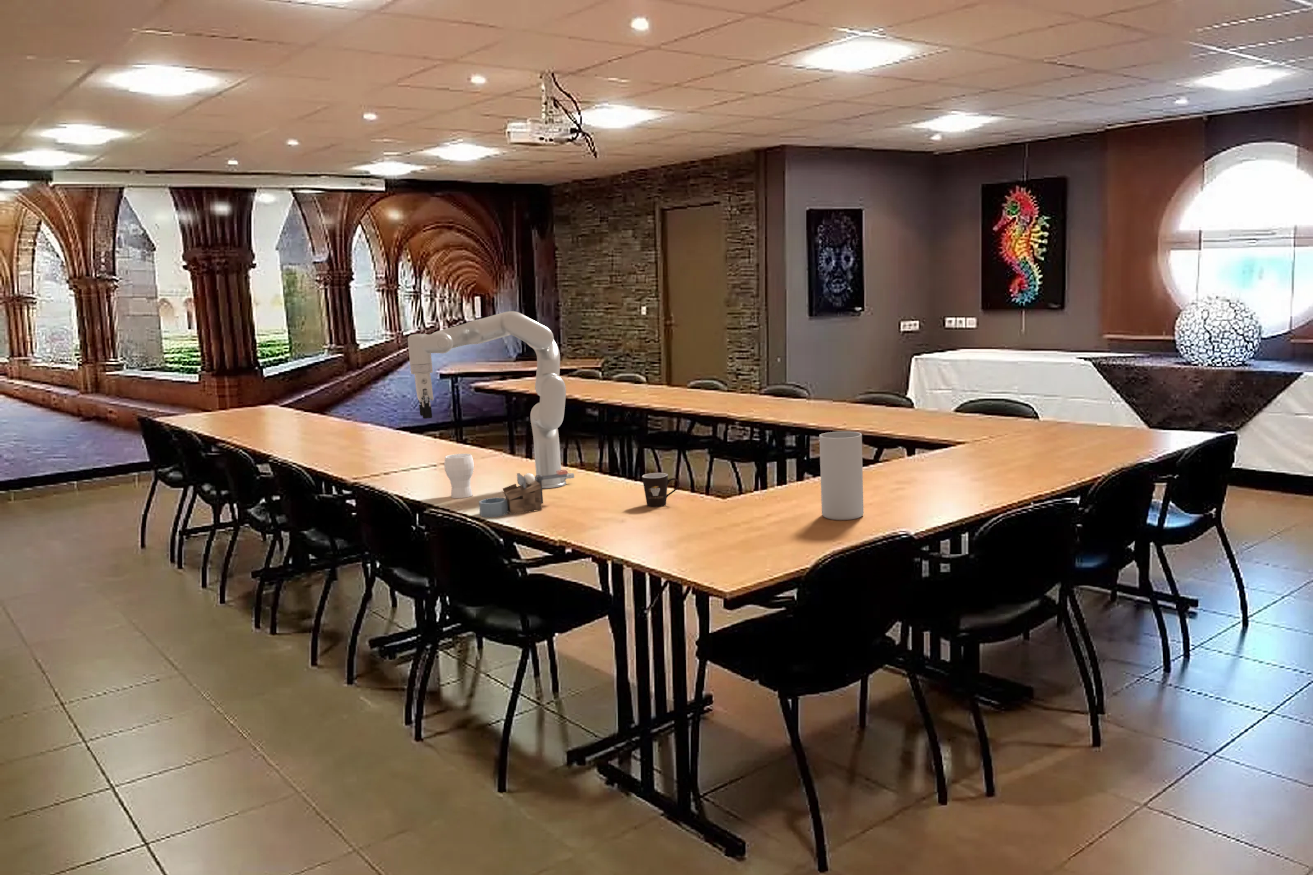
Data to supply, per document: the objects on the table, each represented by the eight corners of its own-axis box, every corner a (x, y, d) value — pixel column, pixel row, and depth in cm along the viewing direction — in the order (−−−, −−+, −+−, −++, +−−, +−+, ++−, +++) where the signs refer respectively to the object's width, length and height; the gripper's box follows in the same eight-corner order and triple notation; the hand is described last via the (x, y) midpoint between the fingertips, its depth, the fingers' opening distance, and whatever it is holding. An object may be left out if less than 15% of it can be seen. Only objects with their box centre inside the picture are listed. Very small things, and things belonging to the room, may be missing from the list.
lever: (565, 476, 343) (565, 467, 343) (573, 482, 333) (573, 472, 333) (517, 482, 338) (516, 473, 337) (523, 488, 328) (522, 478, 327)
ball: (534, 482, 335) (532, 470, 334) (537, 484, 331) (534, 472, 330) (523, 485, 334) (520, 474, 333) (525, 487, 330) (523, 476, 329)
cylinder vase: (860, 521, 292) (858, 438, 288) (818, 520, 296) (815, 438, 293) (866, 511, 304) (864, 431, 300) (826, 510, 308) (823, 431, 304)
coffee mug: (639, 507, 327) (637, 477, 326) (651, 501, 335) (649, 472, 333) (670, 509, 322) (668, 479, 320) (681, 503, 329) (680, 473, 328)
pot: (504, 509, 335) (503, 496, 334) (509, 514, 327) (508, 501, 326) (478, 512, 332) (477, 499, 331) (483, 518, 324) (481, 504, 323)
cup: (469, 499, 355) (466, 458, 353) (442, 499, 357) (438, 458, 355) (480, 492, 365) (477, 453, 363) (454, 493, 368) (450, 453, 365)
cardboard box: (542, 502, 343) (540, 474, 341) (550, 509, 332) (548, 480, 330) (501, 507, 338) (499, 479, 337) (508, 514, 327) (506, 485, 326)
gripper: (434, 369, 343) (439, 418, 345) (429, 366, 359) (434, 413, 361) (412, 371, 340) (417, 420, 343) (408, 368, 356) (413, 415, 359)
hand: (426, 416), depth 352 cm, fingers open, 9 cm apart
